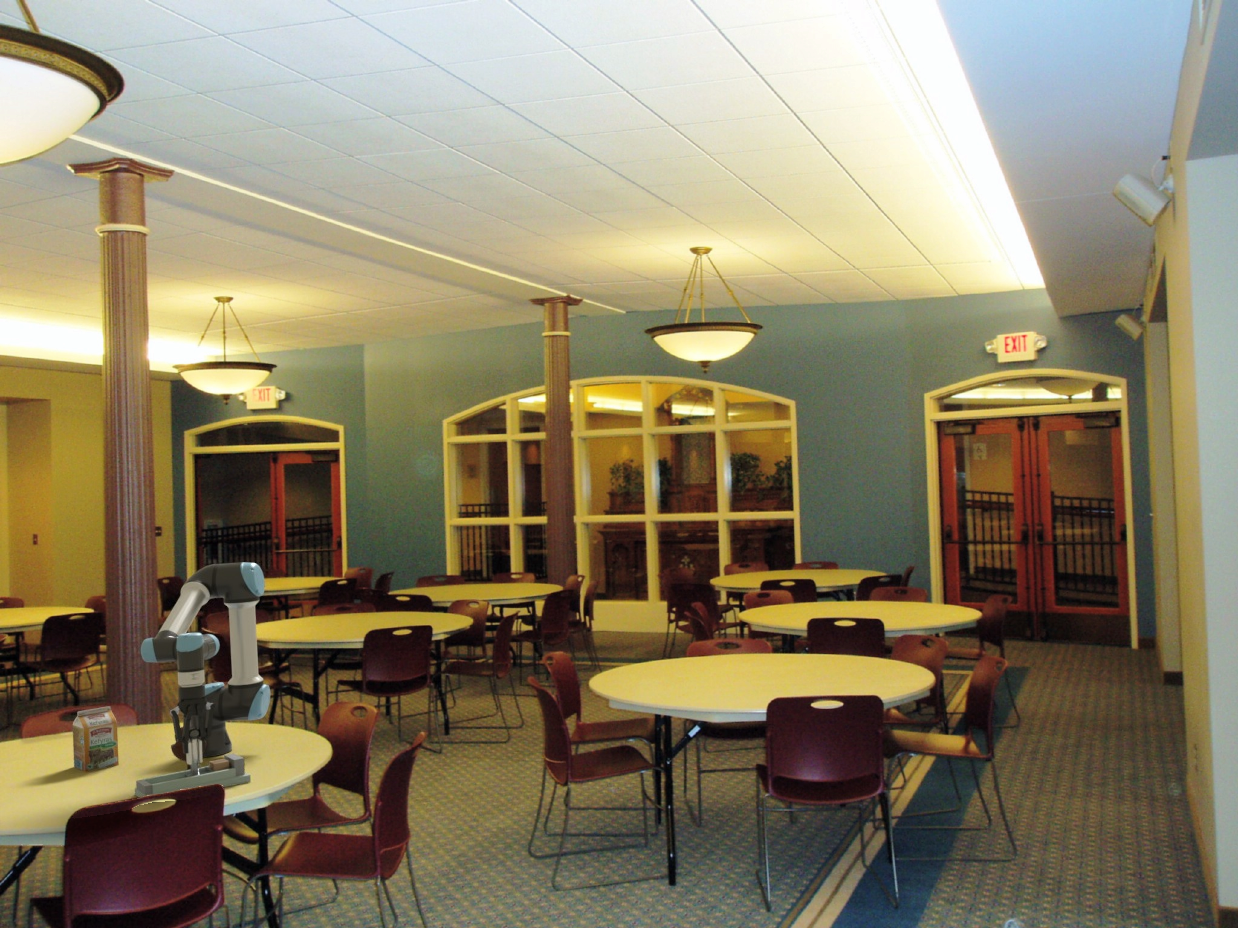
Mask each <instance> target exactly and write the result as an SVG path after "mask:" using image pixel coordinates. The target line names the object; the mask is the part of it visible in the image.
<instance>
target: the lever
mask: <svg viewBox="0 0 1238 928" xmlns="http://www.w3.org/2000/svg"><path fill="white" fill-rule="evenodd" d="M199 735H200V731H199V730H198V729H197V728H191V729H190V730H189V741H190V742H191V750H192V764H191V765H190V766H191V774H186V775H185V778H186V777H191V776H196V775H201V774H206V773H211V772H216V771H215V770H213V769H211V768H210V767H205V766H204V767H205V771H201V772H199V768H200V762H199V752H198V737H199Z"/></svg>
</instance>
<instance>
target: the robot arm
mask: <svg viewBox="0 0 1238 928" xmlns="http://www.w3.org/2000/svg"><path fill="white" fill-rule="evenodd" d="M265 587H266V583H265V576H264V572H263V570H262V568H261V566H260V565H259V564H257V563H255V562H246V561H245V562H231V563H230V562H227V563H213V564H208V565H206V566H204V567H202V568H200V569H198V570H197V571H195V572H194V573H193V574H192V575H191V576H190V577H188V578H187V580H186V581H185V582H184V583H183V585H182V587H181V589H180V596H179V597H178V599H177V601H176V603H175V604H174V606H173V607H172V608H171V611H170V613H169V614H168V616H167V617H166V619H165V620H164V622H163V624H162V626H161V627H160V629H159V630H158V633H157V634H156V636H155V637H149V638H148V637H147V638H145V639H143V641H142V643H141V645H140V655H141V657H142V660H143V661H144V662H146V663H157V664H158V663H167V662H177V684H178V685H179V687H178V688H177V689H178V691H177V692H178V702H177V705H176V707H174V708H171V709H169V711H168V713H169V714H170V716H171V718H172V725H173V732H174V739H175V738H176V740H175V742H176V741H178V742H182V743H183V753H185V754H186V759H187V763H186V765H187V764H189V765H191V764H192V750H191V742H189V730H190V728H197V729H198V730H199V731H200V735H199V739H198V752H199V764H200V763H203V758H209V757H215V756H221V755H226V754H227V753H229V752H232V751H233V743H232V740H231V738H230V735H229V733H228V730H227V728H226V727H227V726H226V724H227V723H226V722H231V721H232V722H235V721H237V722H238V721H253V720H261V719H262V718H264V717H265V716H266V714H267V712H268V709H269V706H270V702H271V689H270V686H269V684H265V683H264V677H262V676H261V675H260V674H259V661H258V660H259V658H258V640H257V619H256V616H257V615H256V605H257V604H258V603H259V602H260V597H261V596H263V595H264V593H265ZM215 598H216V599H218V598H219V599H220V598H223V604H224V605H225V606H227V608H228V616H229V617H228V619H229V620H228V621H229V638H230V640H229V641H230V656H231V657H230V658H231V659H230V660H231V675H232V676H231V678H230V679H229V681H228V682H227V686H225V685H226V684H225V683H224V682H222V681H221V682H219V681H218V682H211V683H207V684H204V683H205V682H206V681H205V660H206V661H207V660H210V659H212V658H213V657H214V656H216V655H217V654H218V652H219V650H220V646H221V645H220V641H219V639H218V637H216V636H215V635H214V634H210V633H205V634H204V633H203V634H202V633H201V632H188V630H189V629H190V627H191V625H192V623H193V622H194V621H195V619H196V616H197V615H198V614H199V612H200V609H201V608H202V606H205V605H206V604H207V603H208V601H209V600H211V599H215ZM187 632H188V633H187ZM180 712H181V713H182V714H183V722H182V727H183V734H182V735H181V724H180V718H179V717H180V716H179V714H180ZM205 740H206V741H207V746H206V749H205ZM203 750H205V752H204V753H203V754H202V751H203Z"/></svg>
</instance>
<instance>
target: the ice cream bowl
mask: <svg viewBox="0 0 1238 928" xmlns="http://www.w3.org/2000/svg"><path fill="white" fill-rule="evenodd" d="M180 728H181V735H182V734H183V726H180ZM190 729H191V728H190ZM198 739H199V737H198ZM174 741H175V743H173V744H171V745H170V749H171V752H172V754H173V756H174V757H175V758H177V759H178V760H181V761H182V762H183V761H184V762H186V766H187V768H186V769H185V770H190V769H191V766H190V765H189V764H187V759H186V754H185V753H183V743H182V742H178V741H176V738H175V737H174ZM189 742H190V741H189ZM206 746H207V741H206V740H205V749H206ZM204 752H205V750H203V751H202V754H203V753H204Z"/></svg>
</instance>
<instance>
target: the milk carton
mask: <svg viewBox="0 0 1238 928" xmlns="http://www.w3.org/2000/svg"><path fill="white" fill-rule="evenodd" d="M76 713H77V714H76V715H77V716H76V717H75V719H74V721H73V722H72V743H73V744H72V746H73V768H75V769H77V770H80V771H82V772H85V773H87V772H91V771H97V770H101V769H106V768H111V767H116V766H119V765H120V764H119V740H118V738H119V737H118V736H119V734H118V722H117V719H116V717H115V715H114V713H113V712H112V707H111V706H110V705H109V706H103V707H98V708H92V709H85V710H79V711H77V712H76Z"/></svg>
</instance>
